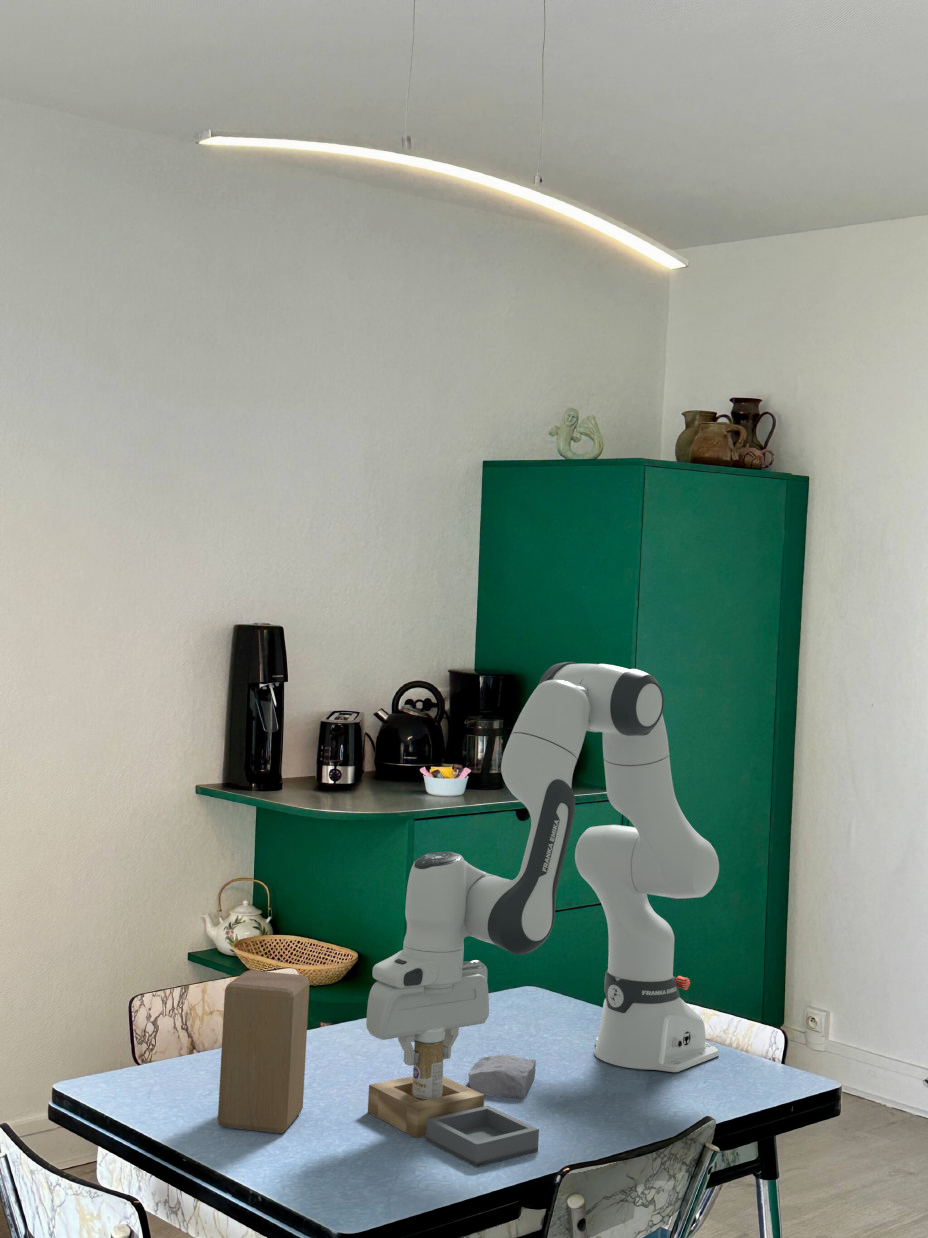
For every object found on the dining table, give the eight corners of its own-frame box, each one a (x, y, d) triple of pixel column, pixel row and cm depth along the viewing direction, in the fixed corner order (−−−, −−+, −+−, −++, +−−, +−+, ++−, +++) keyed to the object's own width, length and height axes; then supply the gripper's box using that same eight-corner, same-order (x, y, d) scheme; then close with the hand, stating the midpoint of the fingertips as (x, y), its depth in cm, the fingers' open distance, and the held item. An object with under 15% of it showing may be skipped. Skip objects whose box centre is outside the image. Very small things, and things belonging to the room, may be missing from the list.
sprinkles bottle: (404, 1117, 196) (406, 1024, 196) (427, 1109, 199) (429, 1018, 199) (426, 1126, 193) (429, 1032, 192) (449, 1118, 196) (451, 1025, 196)
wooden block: (238, 1105, 197) (245, 968, 198) (304, 1112, 196) (311, 974, 196) (214, 1129, 187) (222, 984, 188) (284, 1136, 186) (292, 991, 186)
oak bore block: (432, 1098, 204) (434, 1072, 204) (483, 1122, 195) (484, 1095, 195) (367, 1112, 197) (369, 1084, 197) (416, 1138, 187) (418, 1109, 188)
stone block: (466, 1106, 208) (530, 1100, 206) (462, 1074, 208) (525, 1068, 206) (479, 1085, 219) (540, 1079, 217) (475, 1055, 220) (535, 1049, 218)
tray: (486, 1126, 193) (488, 1105, 194) (538, 1151, 185) (539, 1129, 185) (425, 1141, 187) (426, 1119, 187) (475, 1167, 178) (477, 1144, 178)
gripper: (474, 954, 205) (469, 1046, 205) (363, 968, 192) (357, 1065, 192) (500, 963, 200) (495, 1057, 200) (388, 977, 188) (383, 1078, 187)
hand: (427, 1061), depth 196 cm, fingers closed on sprinkles bottle, 4 cm apart
